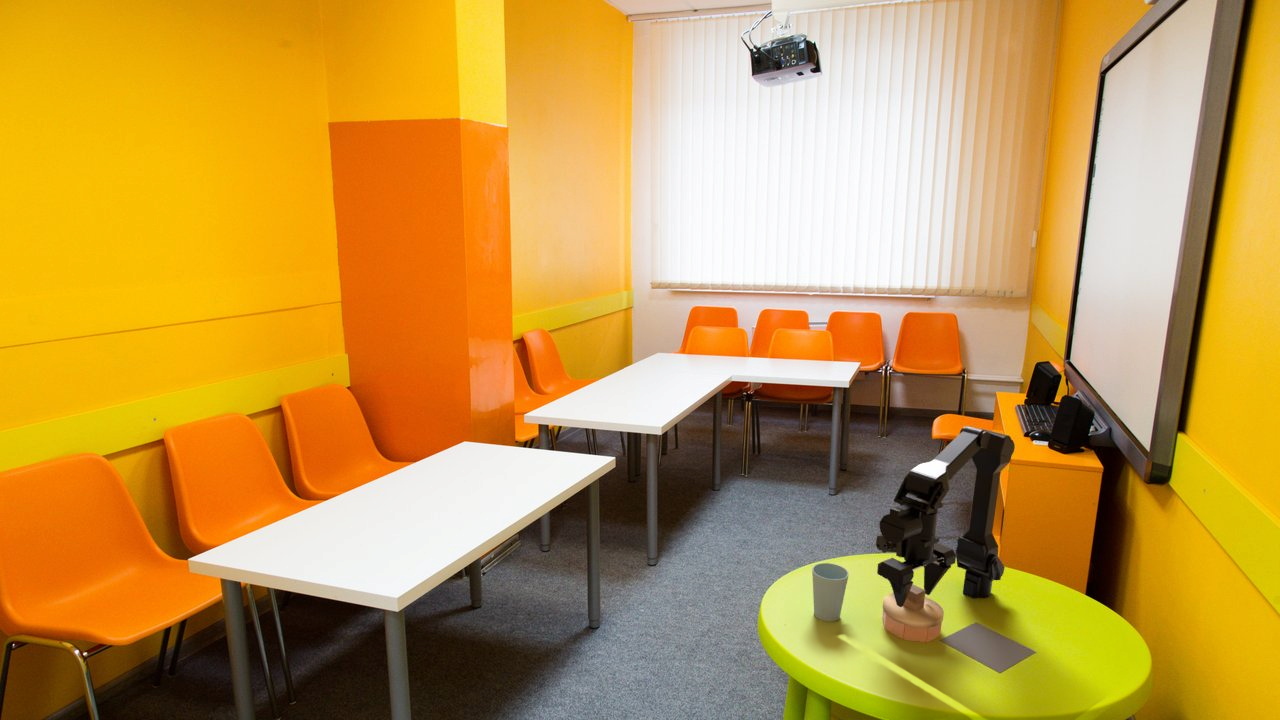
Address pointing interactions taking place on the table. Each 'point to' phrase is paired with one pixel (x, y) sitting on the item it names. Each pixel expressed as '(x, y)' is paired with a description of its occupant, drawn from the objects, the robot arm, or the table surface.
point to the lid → (914, 609)
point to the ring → (910, 630)
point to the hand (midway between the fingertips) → (913, 600)
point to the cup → (828, 590)
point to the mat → (988, 647)
